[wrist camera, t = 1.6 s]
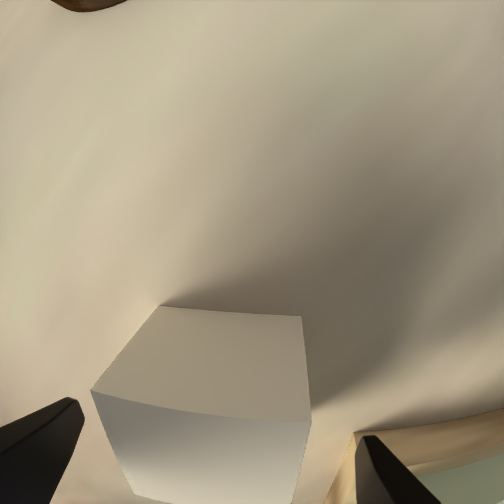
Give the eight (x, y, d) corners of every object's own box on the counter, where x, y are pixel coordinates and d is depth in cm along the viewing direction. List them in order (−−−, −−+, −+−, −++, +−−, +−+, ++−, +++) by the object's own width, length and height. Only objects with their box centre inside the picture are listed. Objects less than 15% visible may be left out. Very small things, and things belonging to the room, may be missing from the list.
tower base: (447, 496, 14) (455, 523, 12) (313, 517, 15) (313, 550, 12) (516, 396, 11) (539, 427, 9) (351, 423, 12) (360, 472, 9)
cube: (288, 417, 12) (286, 517, 7) (173, 405, 12) (134, 494, 7) (301, 315, 10) (311, 421, 6) (159, 304, 11) (90, 389, 6)
